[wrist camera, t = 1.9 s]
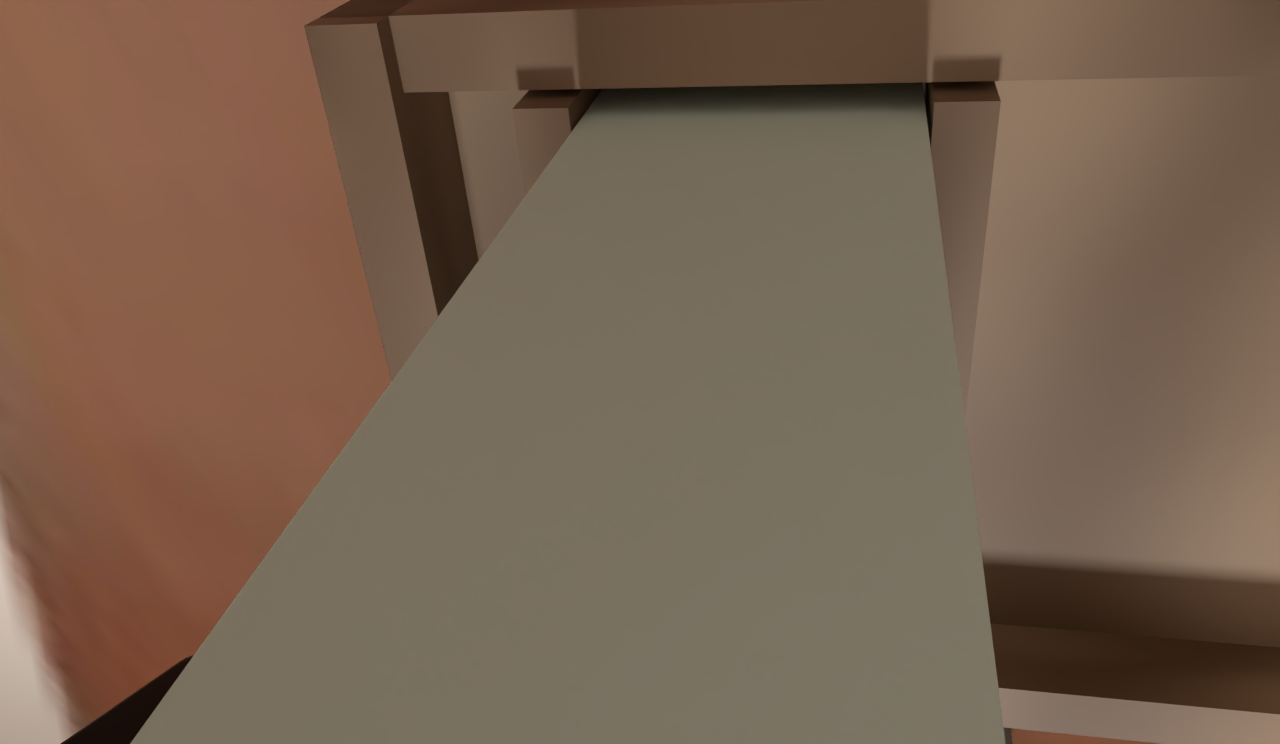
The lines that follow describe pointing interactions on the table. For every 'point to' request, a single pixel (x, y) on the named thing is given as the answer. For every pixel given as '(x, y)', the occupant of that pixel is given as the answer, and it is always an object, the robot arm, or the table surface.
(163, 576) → the table surface
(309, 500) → the pale green block
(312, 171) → the table surface
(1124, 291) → the rack
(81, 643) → the table surface
